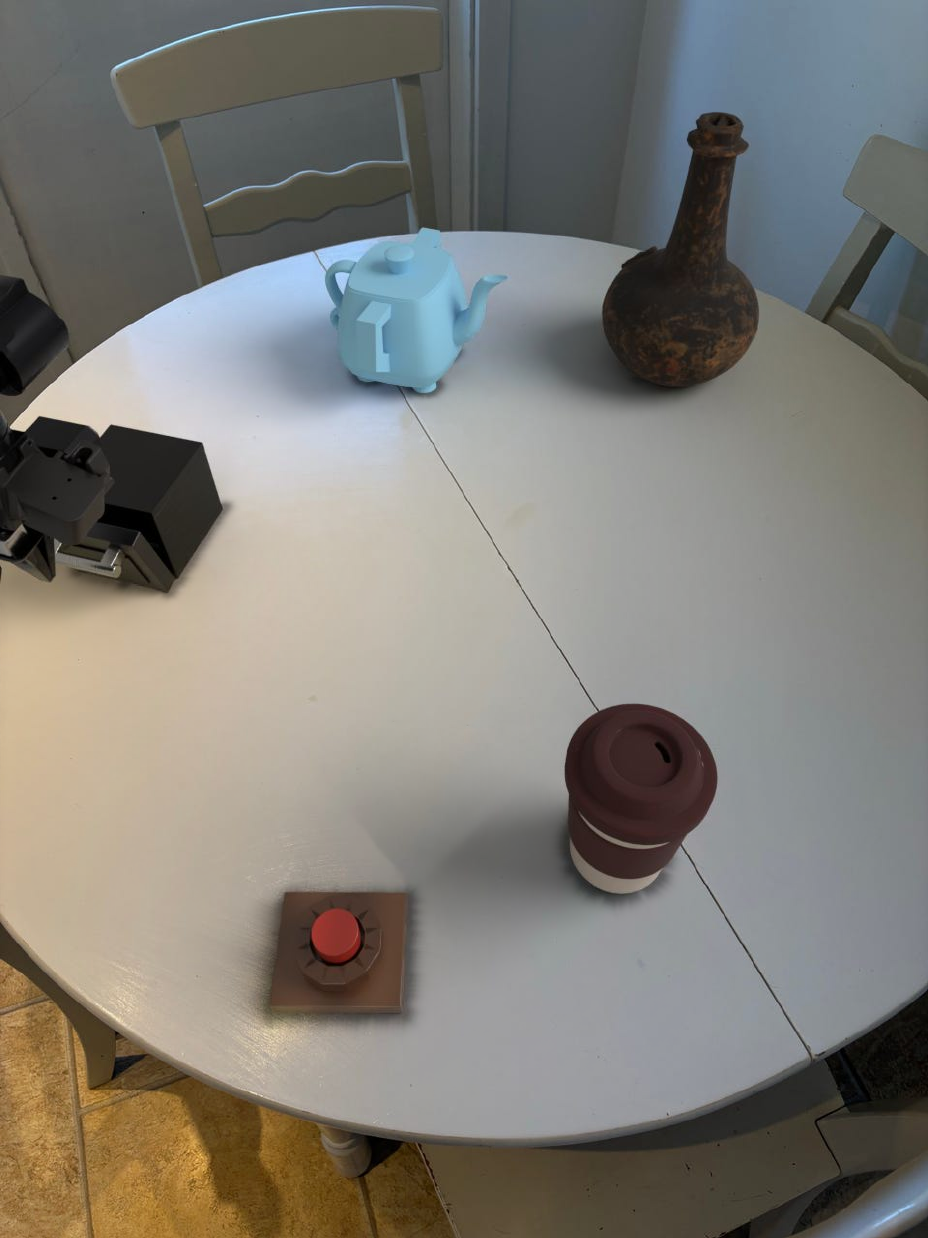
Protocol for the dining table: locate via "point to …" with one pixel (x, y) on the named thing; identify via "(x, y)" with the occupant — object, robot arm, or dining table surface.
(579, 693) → the dining table surface
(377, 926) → the control block
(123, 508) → the oven
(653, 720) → the coffee cup
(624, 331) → the glass bottle
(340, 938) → the button
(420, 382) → the teapot
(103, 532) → the oven door
